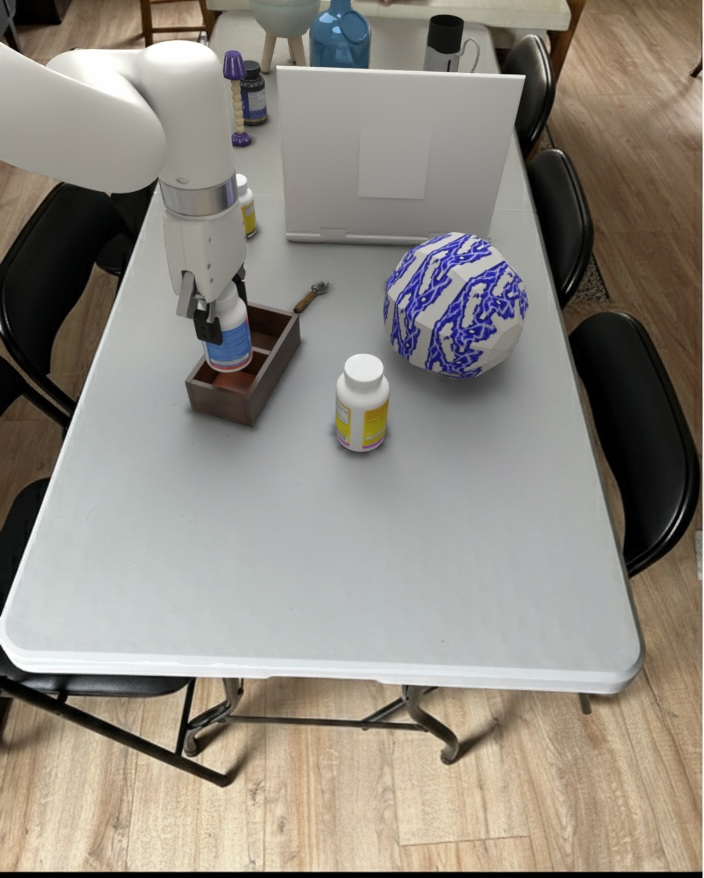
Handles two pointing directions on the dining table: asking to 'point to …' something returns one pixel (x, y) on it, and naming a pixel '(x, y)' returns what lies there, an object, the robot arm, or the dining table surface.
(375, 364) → the supplement bottle
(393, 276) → the ornament
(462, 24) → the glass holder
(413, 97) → the laptop
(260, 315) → the caddy
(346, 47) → the wine bottle
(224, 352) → the pill bottle
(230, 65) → the toy lamp
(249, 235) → the supplement bottle
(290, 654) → the dining table surface
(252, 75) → the pill bottle
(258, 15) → the planter
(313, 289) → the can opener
